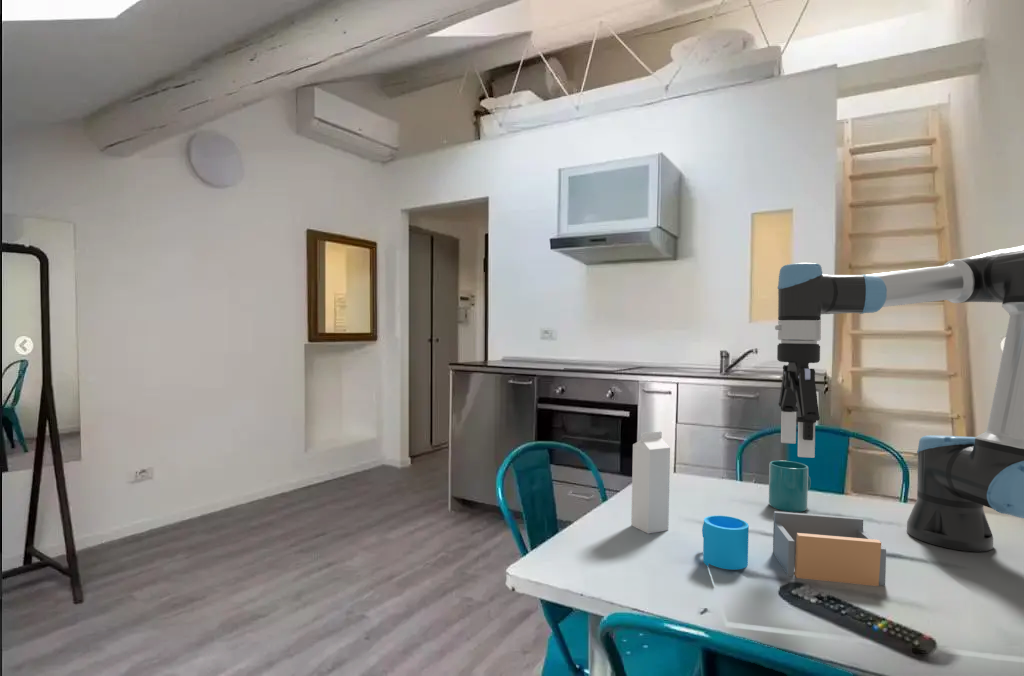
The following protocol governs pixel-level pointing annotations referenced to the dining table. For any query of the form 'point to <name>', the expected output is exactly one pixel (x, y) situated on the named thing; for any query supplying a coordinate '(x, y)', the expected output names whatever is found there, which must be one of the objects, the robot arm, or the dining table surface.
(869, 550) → the panel
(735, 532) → the mug
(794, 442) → the robot arm
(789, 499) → the cup
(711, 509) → the dining table surface
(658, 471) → the milk
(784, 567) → the box
